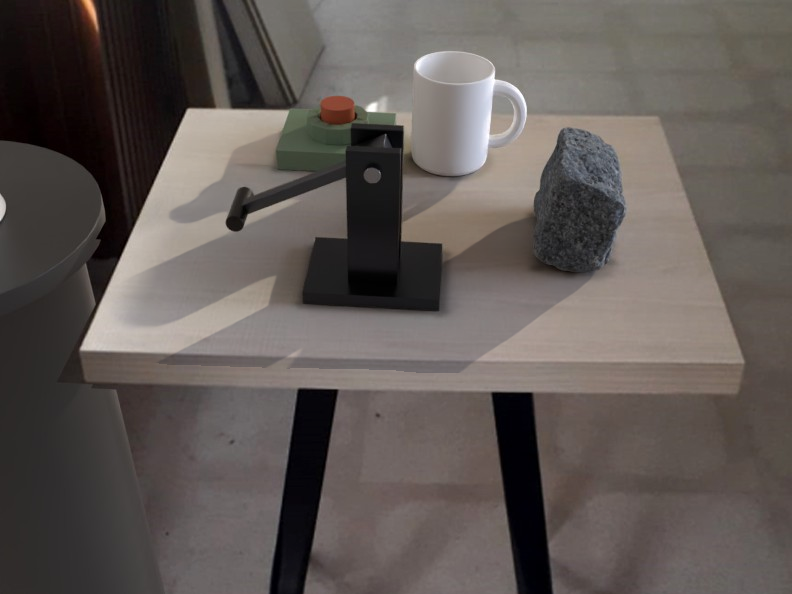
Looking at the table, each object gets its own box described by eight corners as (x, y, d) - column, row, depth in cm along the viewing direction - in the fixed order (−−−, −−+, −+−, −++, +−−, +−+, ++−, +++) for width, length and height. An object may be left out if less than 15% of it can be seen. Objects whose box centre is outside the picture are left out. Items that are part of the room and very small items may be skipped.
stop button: (319, 125, 101) (318, 109, 100) (323, 110, 104) (322, 94, 103) (352, 126, 101) (352, 111, 100) (356, 111, 104) (356, 96, 103)
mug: (519, 144, 107) (529, 53, 100) (523, 181, 101) (534, 87, 94) (411, 140, 107) (414, 49, 100) (409, 176, 101) (412, 82, 94)
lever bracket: (302, 303, 84) (294, 160, 75) (315, 247, 90) (309, 109, 81) (439, 311, 83) (447, 168, 74) (442, 254, 90) (450, 116, 81)
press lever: (233, 238, 82) (219, 215, 81) (244, 208, 86) (230, 185, 84) (394, 179, 77) (382, 154, 76) (398, 150, 81) (386, 125, 80)
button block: (277, 169, 101) (274, 134, 99) (291, 126, 109) (289, 92, 106) (389, 174, 101) (390, 139, 98) (396, 131, 108) (396, 97, 106)
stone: (521, 205, 97) (533, 112, 90) (597, 207, 97) (614, 114, 90) (533, 276, 88) (547, 178, 81) (618, 278, 88) (638, 180, 81)
